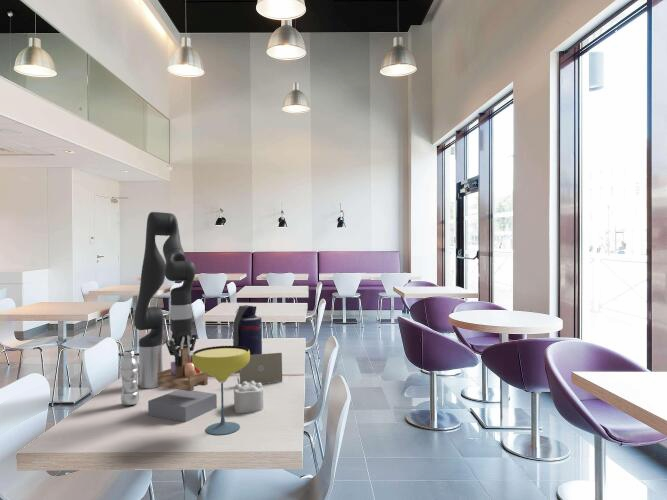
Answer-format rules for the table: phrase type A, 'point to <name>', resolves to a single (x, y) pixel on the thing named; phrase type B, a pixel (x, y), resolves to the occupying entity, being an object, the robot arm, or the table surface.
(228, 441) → the table surface
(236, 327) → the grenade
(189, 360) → the soda can
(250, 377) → the laptop
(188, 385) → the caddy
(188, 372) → the peach glossy rounded part
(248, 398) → the lumpy-topped squat cylinder
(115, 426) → the table surface
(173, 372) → the lilac rounded capsule
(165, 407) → the plain gray square box
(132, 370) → the plastic bottle
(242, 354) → the cocktail glass
